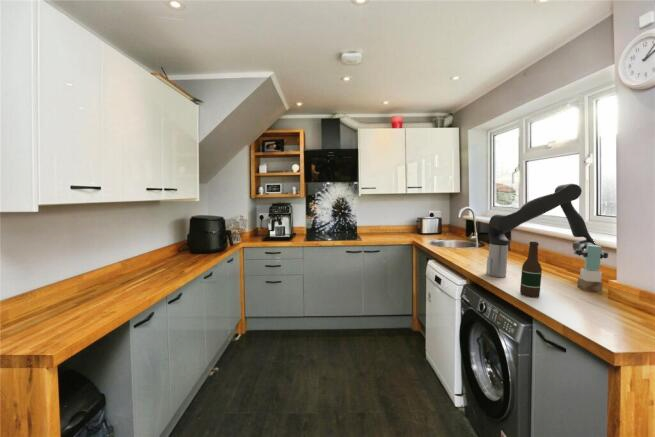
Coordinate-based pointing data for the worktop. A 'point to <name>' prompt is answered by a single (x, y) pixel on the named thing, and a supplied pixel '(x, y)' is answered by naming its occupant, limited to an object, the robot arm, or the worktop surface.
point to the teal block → (593, 257)
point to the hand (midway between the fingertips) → (594, 255)
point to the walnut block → (589, 286)
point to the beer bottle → (531, 273)
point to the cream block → (590, 275)
